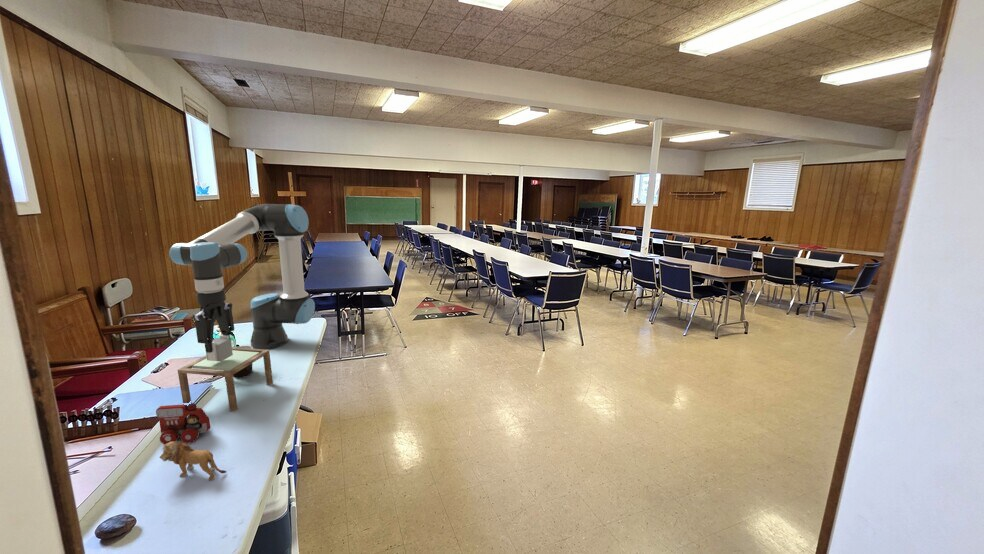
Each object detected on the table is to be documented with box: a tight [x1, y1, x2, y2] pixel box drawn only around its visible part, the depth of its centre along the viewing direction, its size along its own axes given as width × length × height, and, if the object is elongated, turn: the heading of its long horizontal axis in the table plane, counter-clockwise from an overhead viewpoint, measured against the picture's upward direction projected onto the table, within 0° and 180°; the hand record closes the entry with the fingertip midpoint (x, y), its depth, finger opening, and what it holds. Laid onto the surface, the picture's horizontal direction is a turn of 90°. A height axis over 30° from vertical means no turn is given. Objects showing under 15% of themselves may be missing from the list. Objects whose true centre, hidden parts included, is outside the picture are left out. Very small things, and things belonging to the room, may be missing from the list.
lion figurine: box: [159, 440, 227, 481], centre depth 96 cm, size 15×5×9 cm, turn 91°
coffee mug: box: [233, 345, 254, 379], centre depth 149 cm, size 12×9×10 cm
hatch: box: [192, 350, 260, 371], centre depth 131 cm, size 13×14×1 cm
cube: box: [205, 337, 233, 361], centre depth 127 cm, size 5×5×6 cm
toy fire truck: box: [155, 402, 211, 445], centre depth 110 cm, size 7×12×10 cm, turn 102°
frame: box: [177, 346, 274, 413], centre depth 132 cm, size 19×18×14 cm
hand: (219, 356), depth 128 cm, fingers closed on cube, 5 cm apart
